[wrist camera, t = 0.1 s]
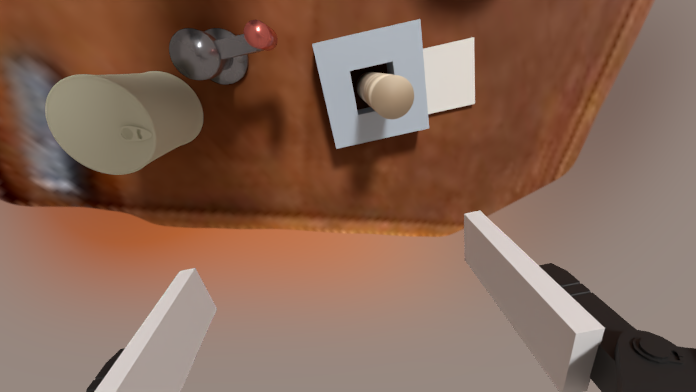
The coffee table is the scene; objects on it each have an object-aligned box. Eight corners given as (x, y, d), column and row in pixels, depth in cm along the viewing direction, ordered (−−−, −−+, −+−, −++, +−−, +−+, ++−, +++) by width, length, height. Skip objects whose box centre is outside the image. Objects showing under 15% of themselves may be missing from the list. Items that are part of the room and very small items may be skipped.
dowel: (353, 75, 36) (369, 80, 24) (381, 68, 36) (411, 70, 23) (359, 103, 38) (376, 123, 25) (385, 98, 38) (416, 114, 25)
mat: (416, 50, 36) (418, 50, 35) (471, 37, 35) (474, 37, 35) (422, 114, 39) (423, 115, 38) (472, 103, 39) (474, 103, 38)
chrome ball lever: (171, 36, 28) (133, 29, 22) (272, 12, 27) (259, -1, 22) (190, 83, 30) (160, 87, 24) (285, 61, 29) (276, 60, 24)
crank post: (188, 35, 33) (161, 29, 28) (237, 23, 33) (220, 15, 28) (209, 88, 36) (188, 92, 30) (255, 78, 36) (242, 80, 30)
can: (205, 149, 39) (159, 182, 28) (133, 141, 38) (54, 171, 27) (201, 77, 35) (146, 82, 24) (120, 65, 34) (24, 65, 23)
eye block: (313, 46, 34) (312, 43, 31) (410, 23, 34) (420, 18, 31) (335, 141, 40) (336, 148, 36) (419, 122, 39) (429, 128, 36)
